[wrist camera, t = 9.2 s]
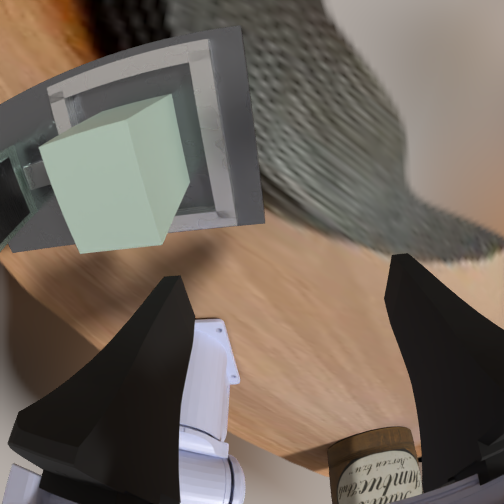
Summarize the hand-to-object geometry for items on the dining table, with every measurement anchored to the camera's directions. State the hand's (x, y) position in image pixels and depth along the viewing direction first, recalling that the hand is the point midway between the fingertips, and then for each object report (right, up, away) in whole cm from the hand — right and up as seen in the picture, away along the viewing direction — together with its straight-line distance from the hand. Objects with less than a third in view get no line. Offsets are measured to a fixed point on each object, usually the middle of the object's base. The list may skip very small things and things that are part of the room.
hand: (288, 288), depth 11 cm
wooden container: (+19, -31, +33) cm, 49 cm away
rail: (-11, +7, +6) cm, 14 cm away
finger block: (-7, +7, +5) cm, 11 cm away
